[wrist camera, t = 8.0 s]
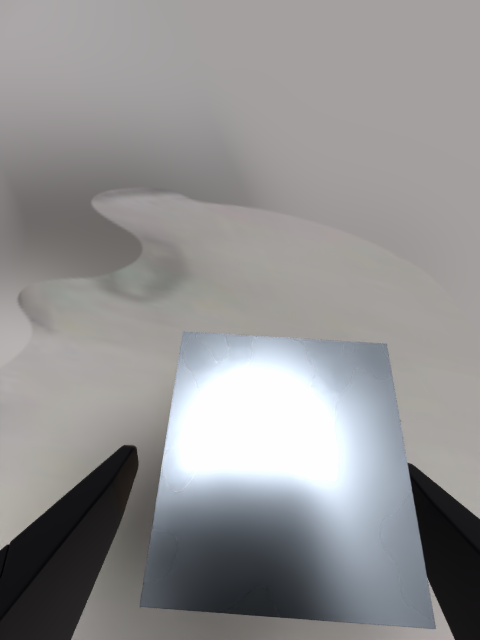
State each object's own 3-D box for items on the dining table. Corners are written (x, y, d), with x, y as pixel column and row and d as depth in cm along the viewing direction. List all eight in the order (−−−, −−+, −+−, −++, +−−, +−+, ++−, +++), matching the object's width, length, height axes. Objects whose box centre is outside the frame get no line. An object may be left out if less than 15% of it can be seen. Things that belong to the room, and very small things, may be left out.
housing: (289, 480, 16) (435, 628, 4) (211, 474, 16) (140, 607, 4) (288, 398, 18) (386, 343, 6) (218, 394, 18) (182, 331, 6)
